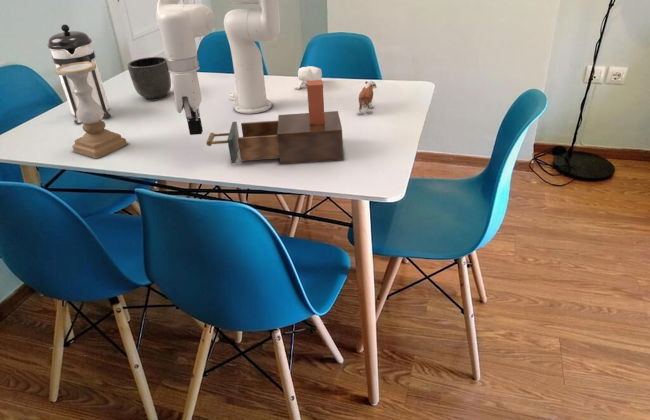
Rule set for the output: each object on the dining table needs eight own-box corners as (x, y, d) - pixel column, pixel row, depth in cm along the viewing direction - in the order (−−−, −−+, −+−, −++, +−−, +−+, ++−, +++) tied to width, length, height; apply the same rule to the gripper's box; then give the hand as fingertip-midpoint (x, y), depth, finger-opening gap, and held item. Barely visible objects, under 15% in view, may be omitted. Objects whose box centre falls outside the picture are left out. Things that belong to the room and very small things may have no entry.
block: (309, 124, 130) (306, 85, 124) (309, 119, 133) (306, 80, 128) (324, 123, 130) (322, 84, 124) (324, 118, 133) (322, 79, 128)
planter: (182, 93, 185) (175, 58, 178) (153, 105, 175) (145, 69, 168) (157, 88, 192) (149, 55, 185) (128, 100, 182) (118, 64, 175)
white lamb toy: (302, 90, 191) (291, 87, 177) (303, 67, 190) (291, 63, 175) (323, 90, 189) (314, 88, 175) (324, 67, 188) (315, 63, 173)
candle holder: (96, 158, 139) (69, 74, 126) (73, 151, 144) (44, 69, 131) (128, 144, 146) (105, 63, 134) (104, 138, 152) (80, 59, 139)
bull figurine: (378, 102, 166) (378, 78, 162) (368, 117, 156) (368, 91, 151) (365, 101, 168) (365, 78, 163) (354, 116, 157) (354, 91, 153)
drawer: (207, 165, 130) (203, 141, 126) (214, 145, 140) (210, 123, 137) (290, 159, 130) (287, 135, 127) (290, 140, 141) (288, 118, 137)
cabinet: (280, 164, 130) (277, 134, 126) (281, 143, 142) (278, 114, 137) (343, 160, 130) (342, 129, 126) (339, 139, 142) (337, 110, 137)
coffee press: (127, 110, 172) (102, 19, 157) (91, 126, 160) (61, 30, 144) (91, 105, 179) (64, 17, 163) (54, 120, 167) (21, 28, 151)
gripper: (174, 57, 128) (187, 124, 137) (160, 73, 115) (176, 145, 125) (203, 55, 128) (214, 122, 138) (193, 71, 115) (206, 143, 125)
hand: (196, 133), depth 131 cm, fingers closed
